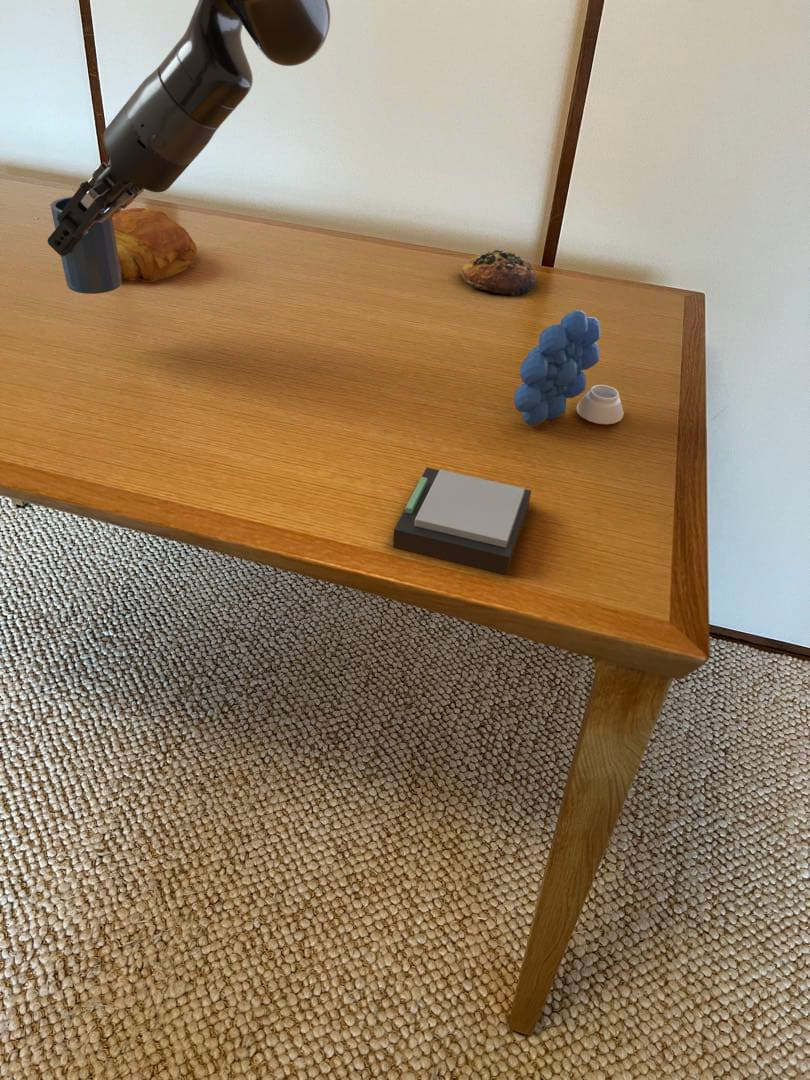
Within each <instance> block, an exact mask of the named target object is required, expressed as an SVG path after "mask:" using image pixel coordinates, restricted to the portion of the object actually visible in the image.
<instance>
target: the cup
mask: <svg viewBox="0 0 810 1080" xmlns="http://www.w3.org/2000/svg"><path fill="white" fill-rule="evenodd" d="M73 196H74V195H73ZM73 196H72V195H71V196H67V197H61V198H59V199H55V200H54V201H52V202H51V203H50V211H51V215H52V220H53V225H54V229H56V228H57V227H58V226H59V225H60V222H59V221H58V220H57V217H58V214H59V213H61V212H62V211H63V209H64V208H65V206H66V205H67V204H68V202H69V201H70V200H71V198H72V197H73ZM105 211H106V209H105V208H103V209H102V210H101V211H100V212H102V213H104V212H105ZM60 258H61V263H62V268H63V273H64V277H65V281H66V282H65V283H66V287H67V288H68V289H69V290H70V291H72V292H74V293H79V294H84V295H85V294H87V295H96V294H105V293H109V292H112V291H115V290H116V289H118V288H120V287H121V286H122V284H123V279H122V275H121V269H120V263H119V257H118V251H117V245H116V239H115V233H114V226H113V220H112V215H111V216H110V217H109V218H108V219H107V220H106V221H105V222H97V223H96V224H95V225H94V226H93V227H92V228H91V229H90V230H89V231H88V234H87V235H84V236H83V237H82V238H81V239H80V240H79V241H78V243H77V244H76V245H75V246H74V247H73V248H72V250H71V251H70V252H69V253H68V254H67V255H65V256H60Z"/></svg>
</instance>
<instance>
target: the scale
mask: <svg viewBox="0 0 810 1080" xmlns="http://www.w3.org/2000/svg"><path fill="white" fill-rule="evenodd" d="M531 495H532V490H530V489H527V488H525V487H521V486H516V485H512V484H507V483H502V482H498V481H494V480H489V479H485V478H480V477H475V476H471V475H468V474H462V473H457V472H453V471H449V470H445V469H436V468H432V467H431V468H430V467H426V468H425V469H424V471H423V472H422V475H421V477H420V479H419V481H418V483H417V485H416V487H415V489H414V490H413V493H412V494H411V496H410V498H409V500H408V502H407V504H406V506H405V508H404V509H403V511H402V513H401V515H400V517H399V518H398V521H397V523H396V525H395V526H394V529H393V538H392V539H393V540H392V548H395V549H399V550H403V551H407V552H411V553H415V554H419V555H424V556H426V557H427V556H428V557H432V558H436V559H440V560H443V561H448V562H452V563H456V564H460V565H465V566H468V567H472V568H476V569H481V570H485V571H489V572H492V573H497V574H500V575H505V576H506V575H507V574H508V572H509V568H510V565H511V562H512V560H513V556H514V552H515V549H516V546H517V543H518V540H519V538H520V535H521V531H522V528H523V525H524V521H525V518H526V516H527V513H528V511H529V510H528V509H529V505H530V500H531Z"/></svg>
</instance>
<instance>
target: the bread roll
mask: <svg viewBox="0 0 810 1080" xmlns="http://www.w3.org/2000/svg"><path fill="white" fill-rule="evenodd" d="M459 273H460V275H461V276H462V278H463V280H464V282H465V283H467V284H468V285H470V287H472V288H475V289H478V290H484V291H487V292H489V293H493V294H501V295H509V296H513V297H514V296H515V297H516V296H521V295H524V294H526V293H528V292H530V291H531V290H533V287H534V286H535V284H536V282H537V273H536V270H535V267H534V266H533V264H532V263H530V262H529V261H528V260H527V259H524V258H523V257H521V256H518V255H517V254H516V253H514V252H512V251H511V252H510V251H505V250H499V249H495V250H494V251H487V252H485V254H481V255H477V256H475V257H473V258H471V259H469V260H468V261H467V262H466V263H465V264H463V266H462V268H461V270H460V272H459Z"/></svg>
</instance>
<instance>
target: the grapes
mask: <svg viewBox="0 0 810 1080" xmlns="http://www.w3.org/2000/svg"><path fill="white" fill-rule="evenodd" d="M600 338H601V325H600V321H599V320H598V319H597V318H596V317H594V316H587V314H586V312H584V311H583V310H581V309H579V310H578V309H576V310H573V311H571V312H569V313H567V314H566V315H564V316H563V317H562V318H561V320H560V323H558V324H552V325H550V326H548V327H546V328H544V329H543V330H542V331H541V333H540V334H539V337H538V345H537V346H534V347H533V348H532V349H530V350H529V352H527V356H526V358H525V359H524V360H522V361H521V364H520V367H519V368H520V371H519V372H520V373H519V376H520V379H521V382H522V383H523V384H521V385H519V386H518V387H517V388H516V389H515V392H514V395H513V405H514V407H515V410H517V411H518V412H520V413H521V414H522V416H521V417H522V419H523V422H524V424H526V425H528V426H537V425H539V424H540V423H542V422H544V421H545V420H547V421H549V420H555V419H558V418H559V417H560V416H562V415H563V414H564V413H566V410H567V399H573V398H576V397H578V396H579V395H581V394H582V393H584V392H585V391H586V387H587V377H586V374H585V371H586V370H589V369H590V368H592V367H594V366H595V365H596V364H598V363H599V362H600V347H599V344H598V342H597V341H599V340H600Z"/></svg>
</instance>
